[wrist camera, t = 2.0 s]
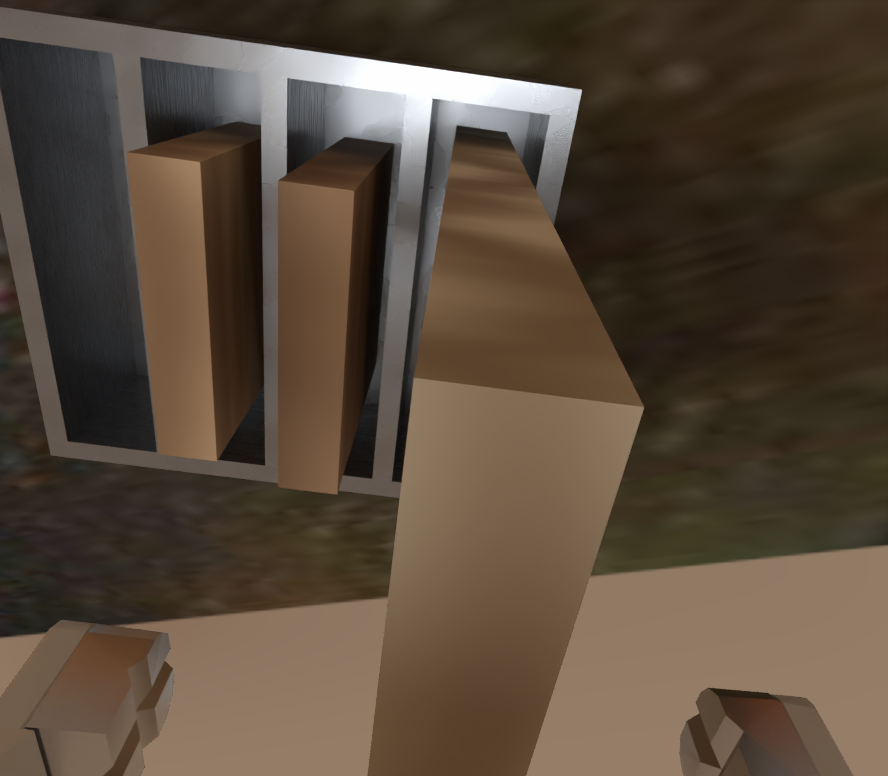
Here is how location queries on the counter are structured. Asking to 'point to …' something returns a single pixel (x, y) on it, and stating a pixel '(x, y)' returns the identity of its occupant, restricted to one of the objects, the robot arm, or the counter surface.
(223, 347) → the oak offcut
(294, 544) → the counter surface
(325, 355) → the walnut offcut
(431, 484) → the birch sheet
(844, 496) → the counter surface
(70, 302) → the rack
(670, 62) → the counter surface
